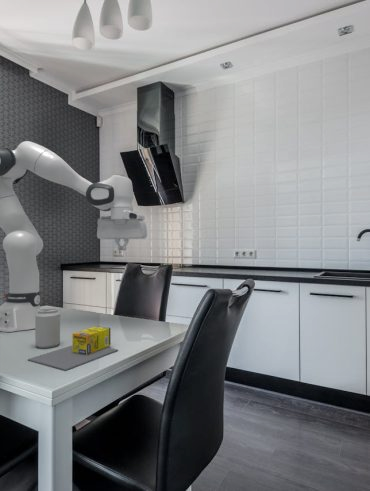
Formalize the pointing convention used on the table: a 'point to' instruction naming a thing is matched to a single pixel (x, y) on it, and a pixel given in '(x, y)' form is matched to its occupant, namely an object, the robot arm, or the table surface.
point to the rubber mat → (69, 358)
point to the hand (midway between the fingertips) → (121, 250)
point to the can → (47, 328)
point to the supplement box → (91, 340)
